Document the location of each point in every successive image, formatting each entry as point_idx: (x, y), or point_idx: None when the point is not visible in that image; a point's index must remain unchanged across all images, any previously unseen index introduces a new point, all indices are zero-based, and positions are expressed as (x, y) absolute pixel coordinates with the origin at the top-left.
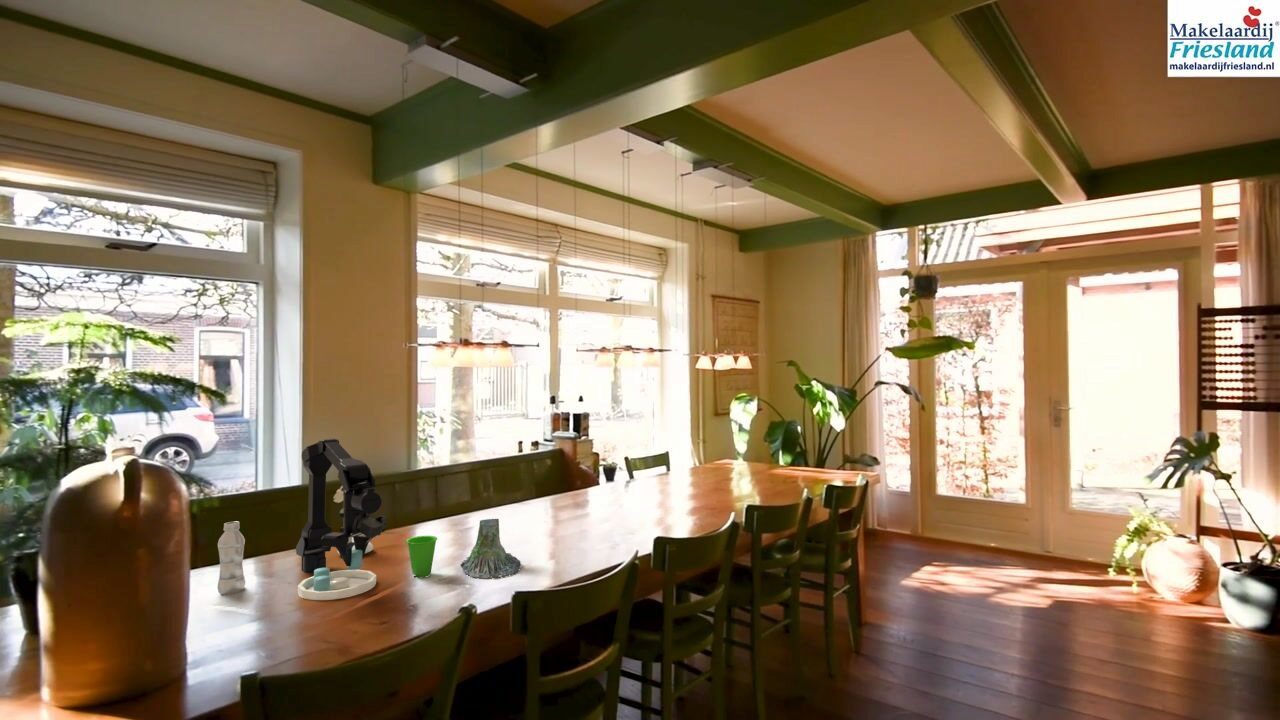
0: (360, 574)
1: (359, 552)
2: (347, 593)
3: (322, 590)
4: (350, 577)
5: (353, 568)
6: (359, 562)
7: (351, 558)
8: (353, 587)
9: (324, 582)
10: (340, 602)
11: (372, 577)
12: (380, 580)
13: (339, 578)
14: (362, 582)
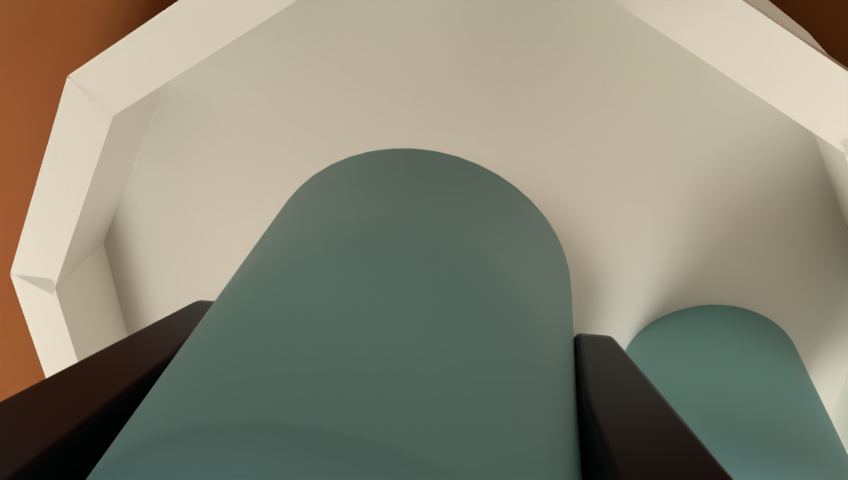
0: (103, 344)
1: (338, 434)
2: (776, 20)
3: (800, 375)
4: None
5: (549, 238)
6: (417, 217)
7: (572, 454)
8: (687, 3)
9: (819, 438)
10: (835, 40)
11: (171, 53)
12: (4, 116)
13: None
14: (218, 206)
